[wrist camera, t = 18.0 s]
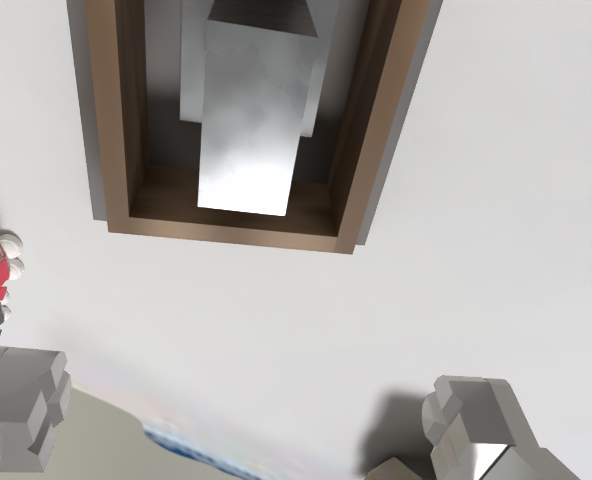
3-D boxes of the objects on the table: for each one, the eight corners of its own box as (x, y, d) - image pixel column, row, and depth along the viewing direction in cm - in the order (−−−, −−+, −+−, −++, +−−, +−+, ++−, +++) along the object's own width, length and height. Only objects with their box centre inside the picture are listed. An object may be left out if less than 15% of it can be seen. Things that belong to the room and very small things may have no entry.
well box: (498, -210, 22) (585, -239, 16) (361, 233, 37) (379, 301, 32) (39, -323, 19) (-61, -409, 13) (99, 207, 35) (65, 276, 29)
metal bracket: (337, -9, 25) (371, 46, 17) (310, 128, 30) (326, 220, 22) (185, -36, 24) (148, 9, 16) (182, 111, 29) (152, 201, 21)
